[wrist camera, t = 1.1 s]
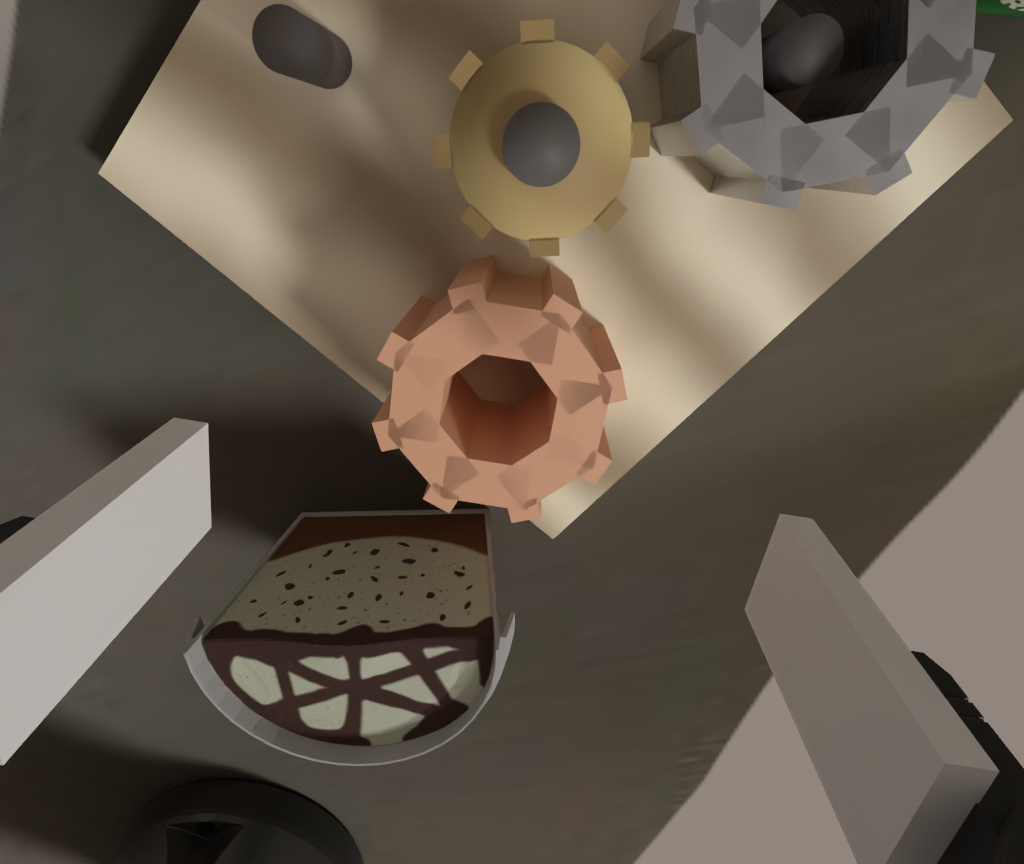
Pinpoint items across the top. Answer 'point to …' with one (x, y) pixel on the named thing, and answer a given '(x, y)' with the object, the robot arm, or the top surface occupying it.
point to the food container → (359, 636)
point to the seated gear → (828, 107)
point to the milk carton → (1000, 7)
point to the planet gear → (493, 425)
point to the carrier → (498, 186)
